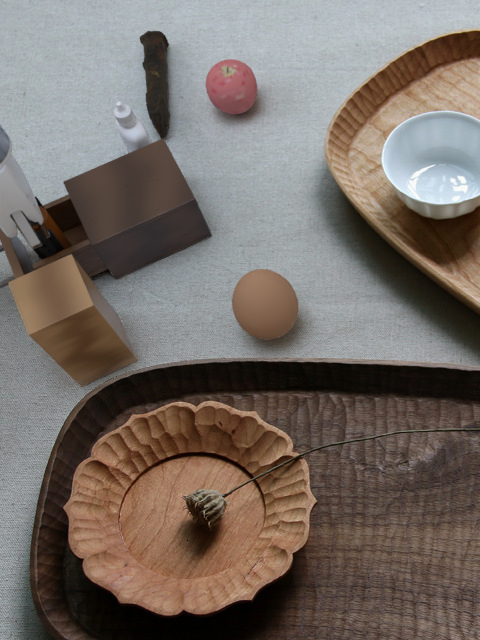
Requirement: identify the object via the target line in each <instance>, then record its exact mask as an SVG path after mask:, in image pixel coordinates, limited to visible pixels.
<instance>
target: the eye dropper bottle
mask: <svg viewBox="0 0 480 640" xmlns="http://www.w3.org/2000/svg"><path fill="white" fill-rule="evenodd" d="M115 105H116V107H115V108H114V110H113V115H114V117H115V121H114V122H115V123H114V124H115V127H116V130H117V132H118V134H119V135H120V139H122V141H123V143H124V145H125V147H126V149H127V151H128V153H130V152H133V151H135V150H137V149H139V148H142V147H144V146H146V145H149V144H151V143H153V141H152V138H151V137H150V134H149V132H148V130H147V128H146V126H145V124H144V123H143V121H141V119H140V118H139V117H137V116H135V115H136V114H135V113H134V112H133V109H132V108H131V106H130V105H128V104H124V103H122V102H121V101H117V102H116V103H115Z"/></svg>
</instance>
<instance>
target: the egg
mask: <svg viewBox="0 0 480 640" xmlns="http://www.w3.org/2000/svg"><path fill="white" fill-rule="evenodd" d="M231 296H232V297H231V306H232V312H233V316H234V317H235V318H234V319H235V321H236V322H237V324H238V325H239V326H240V327H241V329H242V330H243V331H244V332H246V333H247V334H248V335H249V336H251V337H253V338H256V339H258V340H264V341H269V340H270V341H271V340H276V339H279V338H282V337H283V336H285V335H286V334H288V333H289V332H290V331H291V330H292V328H293V327H294V326H295V324H296V322H297V319H298V316H299V313H300V309H299V308H300V307H299V299H298V296H297V292H296V290H295V289H294V287H293V286H292V284H291V282H290V281H288V279H287V278H285V277H284V276H283V275H282V274H281V273H278V272H276V271H275V270H271V269H266V268H256V269H253V270H250V271H248V272H247V273H245V274H243V276H241V277H240V279H239V280H238V281H237V282H236V285H235V286H234V289H233V293H232V295H231Z"/></svg>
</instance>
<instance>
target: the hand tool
mask: <svg viewBox="0 0 480 640" xmlns="http://www.w3.org/2000/svg"><path fill="white" fill-rule="evenodd" d="M139 42H140V44H141V45H142V47H143V53H144V54H143V56H144V57H143V61H142V62H141V63H142V68H143V70H144V72H145V85H146V93H145V107H146V110H147V113H148V116H149V119H150V121H151V124H152V125H153V127H154V129H155V130H156V132H157V134H158V136H159V138H160V139H162V138H164V139H165V138H166V137H167V134H168V130H169V124H170V123H169V122H170V116H171V113H170V109H169V97H168V96H169V94H168V93H169V92H168V87H169V86H168V85H169V84H168V63H167V51H168V48H169V47H170V43H169V41H168V38H167V36H166V35H165V34H164V33H163V32H162V31H160V30H147V31H146V32H144V33H143V34H142V35H140V36H139Z"/></svg>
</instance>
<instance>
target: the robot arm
mask: <svg viewBox="0 0 480 640" xmlns="http://www.w3.org/2000/svg"><path fill="white" fill-rule="evenodd" d="M12 153H13V142H12V139H11V137H10V135H9V134H8V133H7V131H6V130H5V129H4V127H3V126H2V124H0V228H1V229H2V231H3V232H4V233H5V234H6V236H8V237H10V238H13V237H16V236H17V237H18V236H19V234H18V231H19V233H20V234H21V235H22V237H23V238H24V240H25V241H26V243H27V244H28V246H29V247H30V248H31V249H32V250H33V251H34V253H36V255H37V257H38V256H39V257H40V258H41V259H45V258H47V257H49V256H52V255H54V254H56V253H58V252H60V251H62V250H63V249H64V248H63V246H62V244H61V243H60V241H59V240H58V239H57V238H56V236H55V235H54V234H53V232H52V231H51V230H50V229H49V230H47V228H46V227H45V226H44V224H43V220H44V219H43V216H42V213H41V211H40V208H39V206H41V207H43V208H44V206H43V205H44V204H42V202H41V201H40V199H39V198H38V197H37V196H36V195H35V194H34V192H33V189H32V187H31V185H30V182H29V180H28V178H27V175H26V174H25V172H24V171H23V169H22V167H21V165H20V164H19V162H18V161H17V158H15V156H14V155H13V154H12ZM44 209H45V208H44ZM45 210H46V209H45ZM46 211H47V210H46ZM48 214H49V213H48ZM36 224H37V225H38V227H39V228H40V230H39V231H37V232H35V230H34V228H33V227H32V226H34V225H36ZM39 257H38V258H39Z"/></svg>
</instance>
